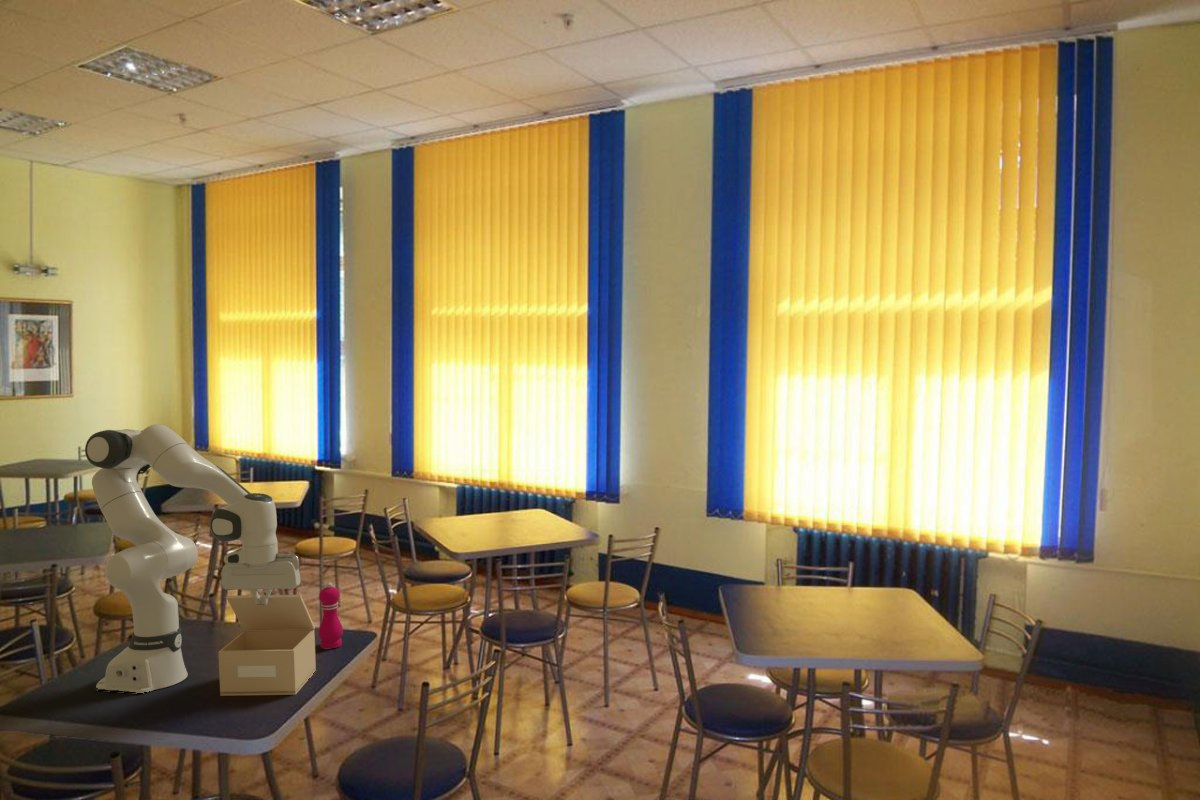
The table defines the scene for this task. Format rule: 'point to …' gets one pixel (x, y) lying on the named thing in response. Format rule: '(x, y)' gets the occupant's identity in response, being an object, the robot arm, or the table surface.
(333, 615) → the pepper mill
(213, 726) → the table surface
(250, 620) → the carton lid
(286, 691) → the carton
